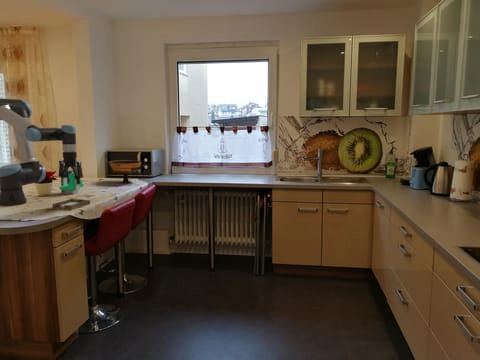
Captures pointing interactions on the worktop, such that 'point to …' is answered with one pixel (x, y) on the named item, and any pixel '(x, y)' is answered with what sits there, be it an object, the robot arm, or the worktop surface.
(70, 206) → the pocket tray
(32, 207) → the worktop surface
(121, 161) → the footed fruit bowl
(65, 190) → the coffee box
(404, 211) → the worktop surface
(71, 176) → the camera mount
